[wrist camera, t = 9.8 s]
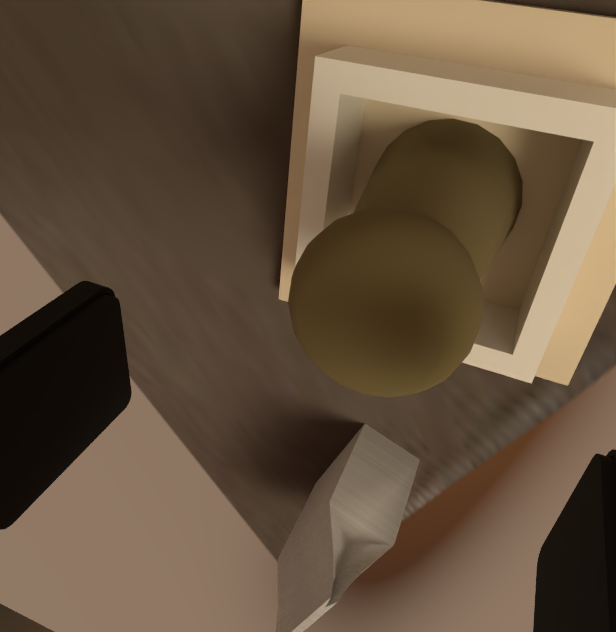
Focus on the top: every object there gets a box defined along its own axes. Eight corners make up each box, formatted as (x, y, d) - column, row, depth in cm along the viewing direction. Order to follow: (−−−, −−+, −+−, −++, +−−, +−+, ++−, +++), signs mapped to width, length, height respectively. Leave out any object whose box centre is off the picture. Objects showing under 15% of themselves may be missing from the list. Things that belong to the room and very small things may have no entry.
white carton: (315, 483, 36) (243, 627, 28) (364, 423, 32) (296, 573, 24) (364, 515, 36) (305, 670, 28) (420, 459, 31) (369, 623, 23)
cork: (477, 287, 24) (426, 468, 15) (351, 227, 25) (233, 366, 16) (555, 157, 20) (545, 296, 12) (404, 92, 21) (289, 177, 12)
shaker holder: (314, -24, 21) (263, -23, 18) (725, 31, 18) (765, 46, 14) (286, 290, 29) (247, 334, 25) (567, 372, 25) (567, 438, 22)
